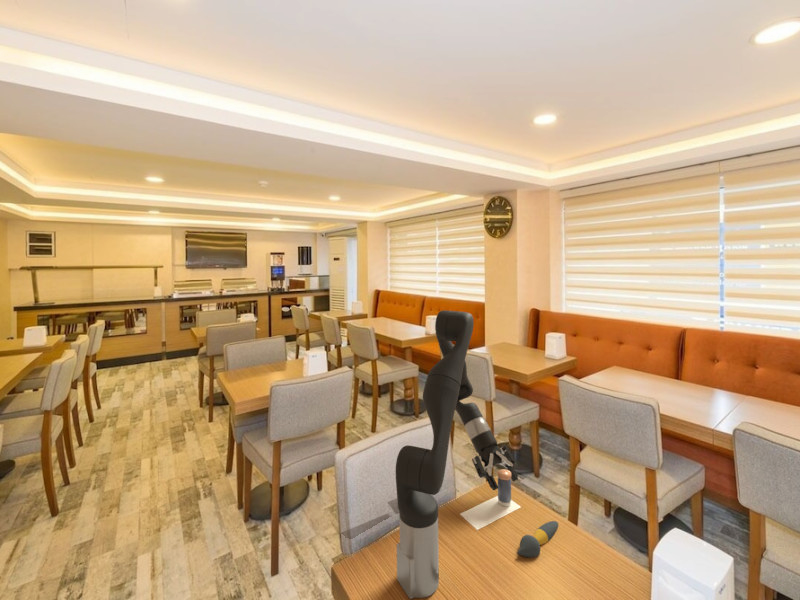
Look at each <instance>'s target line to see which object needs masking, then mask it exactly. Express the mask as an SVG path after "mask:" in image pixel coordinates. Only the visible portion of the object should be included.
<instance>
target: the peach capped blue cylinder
mask: <svg viewBox="0 0 800 600" xmlns="http://www.w3.org/2000/svg"><path fill="white" fill-rule="evenodd" d="M497 485H498V489H497V496H498V503H499V505H500V506H502V507H509V506H510V505H511V500H512V479H511V472H510V471H509V470H508V469H507V468H500V469H499V470H497Z"/></svg>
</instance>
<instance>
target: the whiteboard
mask: <svg viewBox="0 0 800 600" xmlns="http://www.w3.org/2000/svg"><path fill="white" fill-rule="evenodd" d="M520 508H522V507H521V505H519V504H518V503H516V502H515V501H513V499H511V505H510V506H509V507H502V506H500V505H499V503H498V495H496V496H494V497H491V498H490V499H488V500H486V501H484V502H481V503H479V504H478V505H475V506H474V507H471V508H470V509H468V510H465V511H463V512H461V513H459V515H460V516H461V517H462V518H463V519H465V520H466V521H467V522H468V524H469V525H471V526H472V527H473V528H475V530H476V531H478V530H480V529H482V528H484V527H486V526H488V525H490V524H491V523H493V522H496V521H497V520H500V519H501V518H503V517H505V516H507V515H509V514H511V513H513V512H515V511H516V510H519V509H520Z"/></svg>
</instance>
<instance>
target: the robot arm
mask: <svg viewBox="0 0 800 600" xmlns="http://www.w3.org/2000/svg"><path fill="white" fill-rule="evenodd" d="M474 322H475V321H474V317H473V315H472V314H471V313H470V312H467V311H456V310H441V311H439V312H438V313H437V315H436V318H435V323H434V324H435V326H434V327H435V328H434V330H435V331H434V332H435V335H436V339H437V342H438V343H437V344H438V347H439V349H440V352H441V355H442V357H443V358H442V359H440V360H439V361H437V362H436V364H434V366H433V367H431V368H430V370H429V372H428V374H427V377H426V381H425V384H424V388H423V391H422V400H423V405H424V408H425V410H426V413H427V416H428V419H429V421H430V424H431V429H432V434H433V439H432V440H433V442H432V447H431V449H430V448H424V447H419V446H416V445H415V446H414V445H404V446H402V448H401V449H400V450H399V453H398V454H397V456H396V457H397V458H396V460H395V461H396V462H395V484H396V485H395V486H396V499H397V501H396V503H397V509H398V511H399V512H398V514H399V542H398V543H396V581H397V582H398V583H399V585H400V586H401V588H402V589H403V591H404V593H405V594H406V595H407V597H408V598H409V600H413V599H414V598H415V599H416V598H417V599H418V598H420V599H422V598H428V597H430V596H431V595H433V594H434V593H435V592H436V591H437V589H438V587H439V581H440V580H439V579H440V577H439V576H440V574H439V573H440V570H439V568H440V567H439V566H440V565H439V560H440V559H439V557H440V556H439V505H438V502H437V500H436V499H435V497H434V496H435V495H437V494H438V493H439V492H440V490H441V488H442V486H443V483H444V479H445V474H446V467H447V458H448V453H449V452H448V451H449V445H450V437H451V431H452V425H453V420H454V416H455V412H456V413H457V414H458V415H459V418H460V419H461V422H462V424H463V426H464V429H465V431H466V433H467V435H468V438H469V439H470V441H471V443H472V446H473V448H474V450H475V452H476V453H477V454H478V455H475V456H474V457H473V458H472V459H471V461H472V464H473V466H474V469H475V470H476V473H477V476H478V477H479V479H482V478H484V479H486V481H487V483H488V486H489V487H490V489H492V490H493V491H496V490H498V482H497V481H496V480H495V477H494V475H492V470H493V467H494V466H498V465H500V466H503V467H504V469H506V470H509V471H510V472H511V482H515V481H517V480H519V478H518V477H519V475H518V474H517V472H516V470H515V468H514V464H516V463H517V460H516V458H515V457H514V455H513V453H512V452H511V451H510V449H509V447H508V446H507V444H505V445H502V447H499V446H498V441H497V439H496V437H495V435H494V433H493V432H492V429H491V428H490V426H489V423H488V422H487V421H486V420H485V417H484V416H483V414H482V413H481V411H480V409H479V407H478V405H477V404H476V403H475V402H467V403H465V402H464V403H463V402H461V401H462V400H464V399H467V398H469V397H471V396H472V395H473V393H474V389H473V388H474V387H473V385H472V384H471V382H470V380H469V376H468V370H467V369H468V368H467V363H466V358H467V357H466V356H467V353H468V350H469V347H470V343H471V340H472V336H473V332H474ZM453 342H455V343H454V344H453Z"/></svg>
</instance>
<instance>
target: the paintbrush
mask: <svg viewBox="0 0 800 600" xmlns="http://www.w3.org/2000/svg"><path fill="white" fill-rule="evenodd" d="M558 528H559V522H558V521H556V520H552V521H548V522H546V523H544V524H542V525H540V526H539V527H538V528H537V529H536V530H535V532H534V534H533V535H530V534H525V535H523V536H522V537H521V539H520V542H519V549H518V550H517V552H516V554H518V555H520V556H523V557H525V558H530V559H531V558H537V557H538V556H539V555H540V554H541V546H542V545H544V544H546V543H548V542H549V541H550V540H551V539H552V538H553V536H554V535H555V534H556V532H557V531H558Z"/></svg>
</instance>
